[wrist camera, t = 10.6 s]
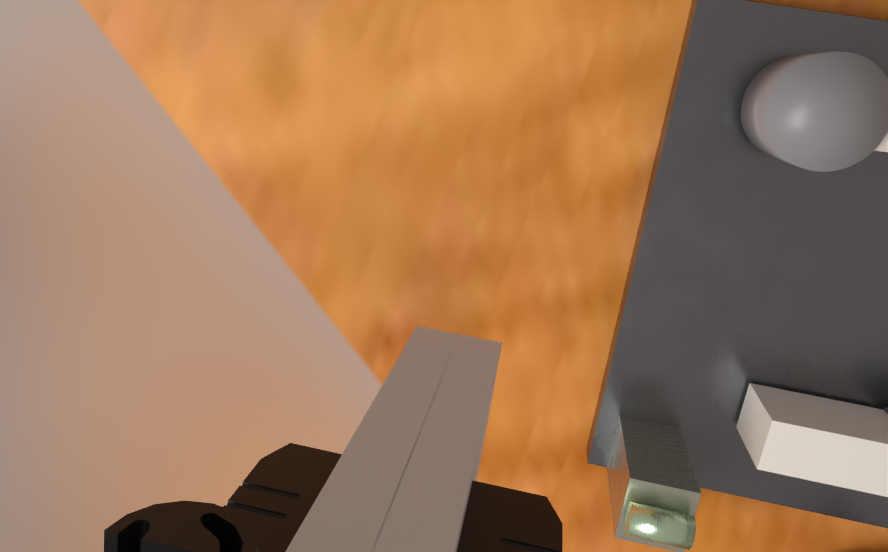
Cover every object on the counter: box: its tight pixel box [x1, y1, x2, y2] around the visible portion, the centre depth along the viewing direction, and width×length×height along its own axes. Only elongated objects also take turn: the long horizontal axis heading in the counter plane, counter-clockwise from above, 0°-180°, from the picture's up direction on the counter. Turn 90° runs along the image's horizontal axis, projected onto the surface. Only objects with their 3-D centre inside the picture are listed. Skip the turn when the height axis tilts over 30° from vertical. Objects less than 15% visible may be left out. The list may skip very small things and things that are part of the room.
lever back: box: [736, 383, 888, 497], centre depth 33 cm, size 10×4×4 cm, turn 81°
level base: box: [587, 0, 888, 552], centre depth 31 cm, size 23×16×9 cm
